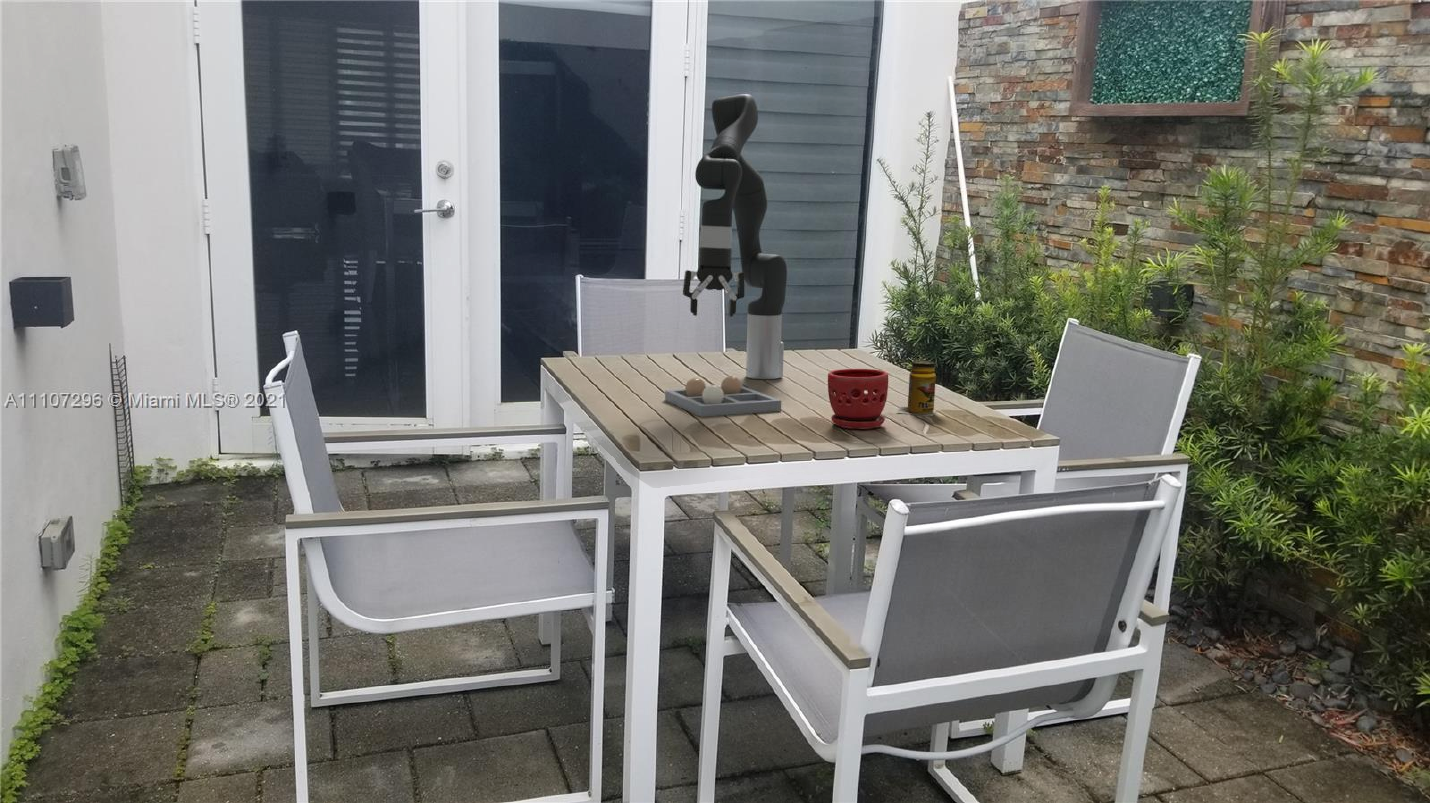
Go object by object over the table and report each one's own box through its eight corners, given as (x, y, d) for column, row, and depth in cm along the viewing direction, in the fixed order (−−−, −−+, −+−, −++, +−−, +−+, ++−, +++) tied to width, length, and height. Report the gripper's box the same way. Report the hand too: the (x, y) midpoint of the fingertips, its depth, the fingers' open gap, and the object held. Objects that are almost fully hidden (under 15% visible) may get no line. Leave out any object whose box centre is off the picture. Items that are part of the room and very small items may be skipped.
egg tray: (740, 395, 277) (741, 385, 277) (781, 410, 259) (781, 400, 259) (664, 400, 268) (665, 390, 268) (701, 416, 250) (701, 406, 250)
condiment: (933, 416, 257) (936, 365, 255) (896, 413, 259) (899, 362, 257) (936, 410, 264) (939, 360, 261) (900, 407, 266) (903, 358, 264)
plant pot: (875, 419, 252) (877, 366, 250) (894, 431, 240) (897, 376, 237) (819, 419, 250) (821, 367, 248) (835, 432, 237) (837, 377, 235)
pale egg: (717, 403, 261) (718, 382, 260) (727, 407, 256) (727, 386, 255) (698, 404, 258) (698, 383, 257) (707, 409, 254) (707, 387, 253)
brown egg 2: (735, 394, 273) (736, 373, 272) (745, 397, 269) (745, 377, 268) (717, 395, 271) (717, 374, 270) (726, 398, 266) (726, 378, 266)
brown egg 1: (700, 396, 269) (700, 375, 268) (709, 400, 265) (709, 379, 264) (681, 397, 267) (681, 377, 266) (690, 401, 262) (690, 380, 261)
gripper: (742, 247, 265) (739, 315, 267) (683, 244, 262) (680, 313, 265) (748, 247, 257) (745, 318, 260) (687, 245, 255) (684, 316, 257)
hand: (712, 315), depth 262 cm, fingers open, 8 cm apart
